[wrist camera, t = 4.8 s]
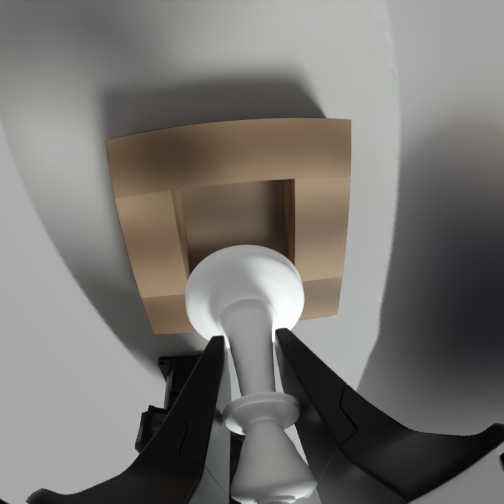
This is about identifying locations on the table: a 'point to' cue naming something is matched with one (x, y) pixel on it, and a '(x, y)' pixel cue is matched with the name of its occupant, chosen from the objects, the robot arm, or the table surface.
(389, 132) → the table surface
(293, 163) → the tan wooden square block
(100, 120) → the table surface
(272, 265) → the chess piece
